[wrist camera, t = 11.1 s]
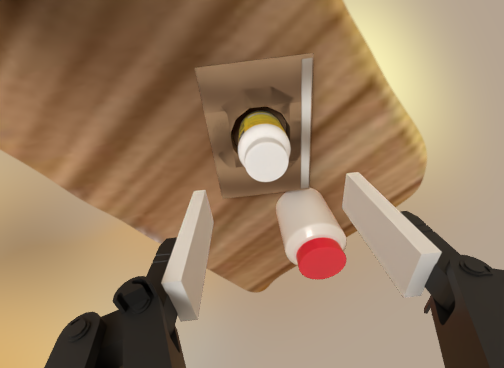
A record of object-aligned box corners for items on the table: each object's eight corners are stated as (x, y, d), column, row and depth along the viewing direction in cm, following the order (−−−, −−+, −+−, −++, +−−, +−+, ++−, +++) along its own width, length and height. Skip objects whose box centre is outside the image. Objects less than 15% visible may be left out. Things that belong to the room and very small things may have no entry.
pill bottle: (332, 209, 35) (367, 265, 25) (293, 233, 37) (311, 293, 27) (307, 177, 31) (336, 228, 22) (265, 205, 34) (275, 262, 24)
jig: (198, 67, 24) (194, 67, 21) (307, 53, 24) (314, 52, 21) (223, 189, 32) (222, 200, 29) (304, 180, 32) (309, 190, 29)
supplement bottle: (236, 111, 26) (233, 136, 18) (280, 107, 26) (298, 130, 18) (240, 152, 29) (240, 191, 21) (280, 149, 29) (296, 186, 21)
